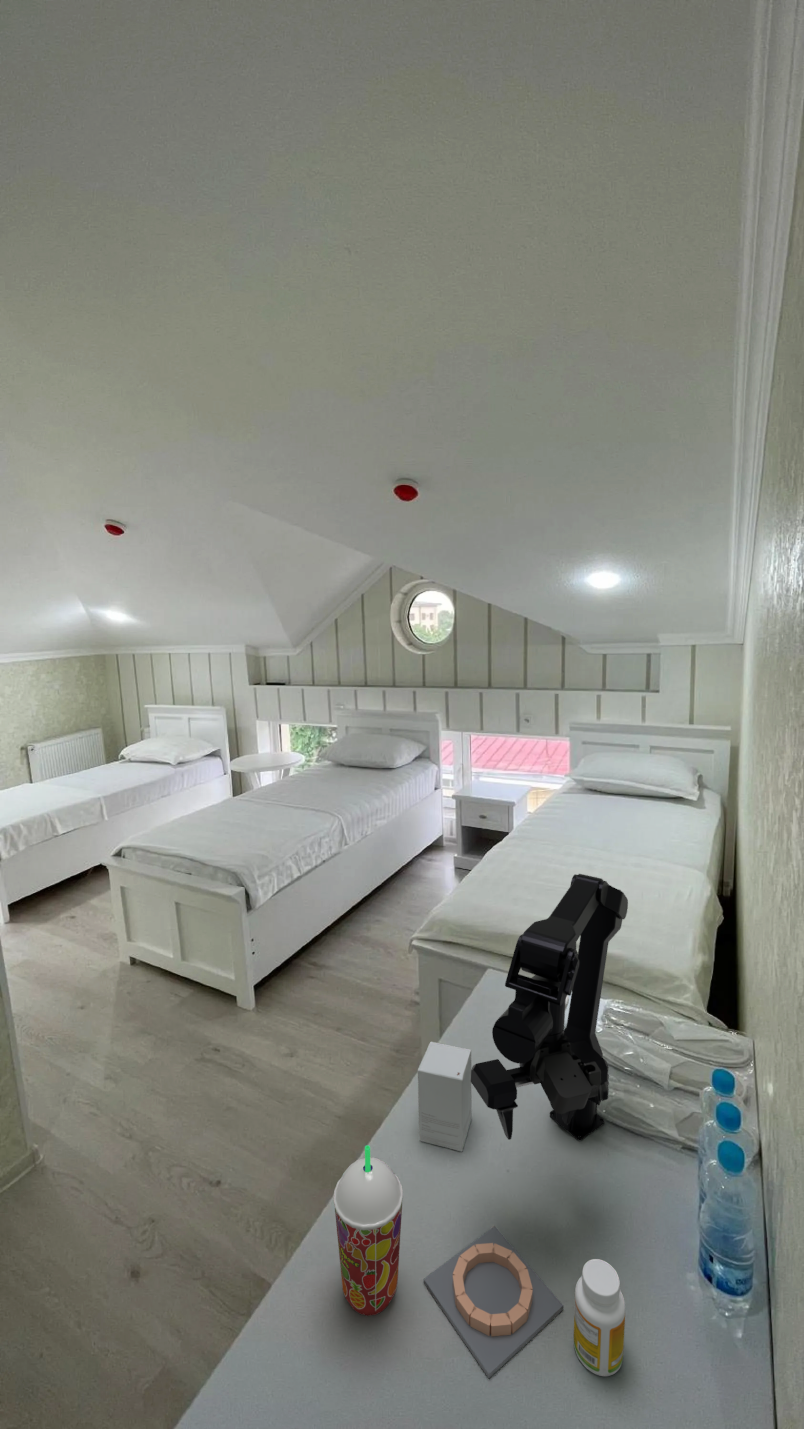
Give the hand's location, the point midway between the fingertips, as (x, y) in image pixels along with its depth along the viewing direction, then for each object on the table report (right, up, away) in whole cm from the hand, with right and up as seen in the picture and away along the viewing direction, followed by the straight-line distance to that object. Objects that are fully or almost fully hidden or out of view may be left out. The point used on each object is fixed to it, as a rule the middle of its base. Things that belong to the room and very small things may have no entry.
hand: (537, 1129), depth 85 cm
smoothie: (-23, -14, -9) cm, 28 cm away
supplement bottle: (+3, -15, -16) cm, 22 cm away
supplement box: (-12, -10, +15) cm, 21 cm away
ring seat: (-8, -14, -10) cm, 19 cm away
